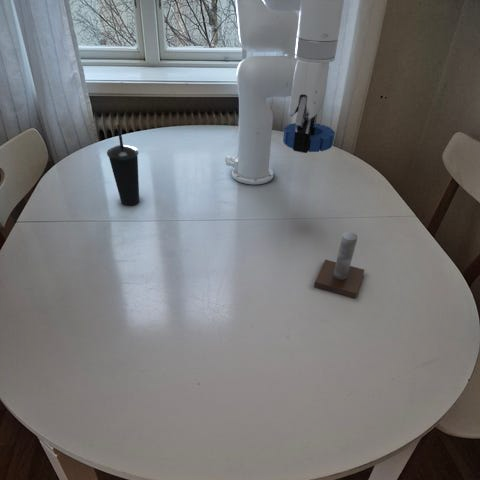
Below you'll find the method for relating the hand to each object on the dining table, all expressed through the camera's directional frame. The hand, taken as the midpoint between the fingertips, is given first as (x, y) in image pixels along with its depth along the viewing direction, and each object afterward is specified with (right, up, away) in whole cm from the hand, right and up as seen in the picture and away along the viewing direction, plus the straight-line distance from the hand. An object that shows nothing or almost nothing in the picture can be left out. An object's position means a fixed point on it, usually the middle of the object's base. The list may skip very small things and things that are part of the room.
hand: (303, 147), depth 92 cm
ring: (+1, +2, +3) cm, 4 cm away
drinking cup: (-43, -5, +24) cm, 50 cm away
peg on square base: (+8, -29, +2) cm, 30 cm away
